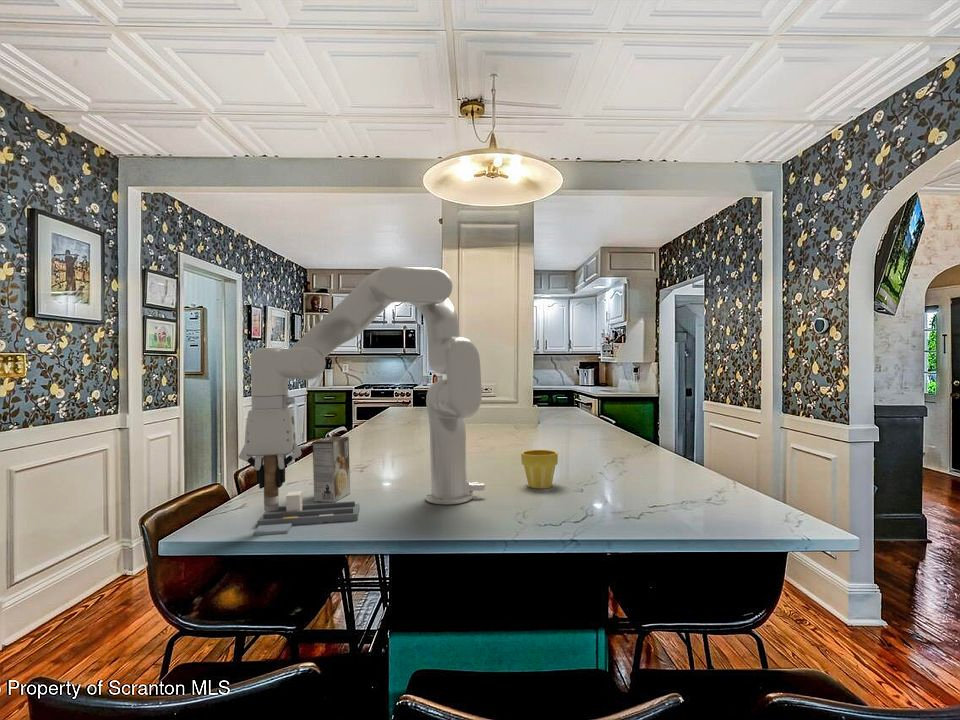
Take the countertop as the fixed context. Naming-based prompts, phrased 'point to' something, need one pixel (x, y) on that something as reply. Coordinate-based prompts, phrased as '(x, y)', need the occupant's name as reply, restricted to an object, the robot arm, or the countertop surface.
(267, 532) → the tool mat
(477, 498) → the countertop surface
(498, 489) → the countertop surface
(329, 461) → the coffee box
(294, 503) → the switch tab
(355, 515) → the switch panel
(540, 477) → the plant pot
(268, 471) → the brown rod
